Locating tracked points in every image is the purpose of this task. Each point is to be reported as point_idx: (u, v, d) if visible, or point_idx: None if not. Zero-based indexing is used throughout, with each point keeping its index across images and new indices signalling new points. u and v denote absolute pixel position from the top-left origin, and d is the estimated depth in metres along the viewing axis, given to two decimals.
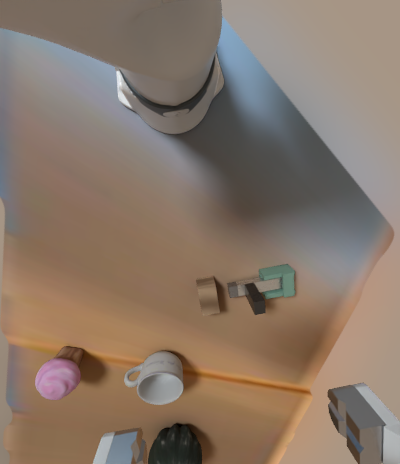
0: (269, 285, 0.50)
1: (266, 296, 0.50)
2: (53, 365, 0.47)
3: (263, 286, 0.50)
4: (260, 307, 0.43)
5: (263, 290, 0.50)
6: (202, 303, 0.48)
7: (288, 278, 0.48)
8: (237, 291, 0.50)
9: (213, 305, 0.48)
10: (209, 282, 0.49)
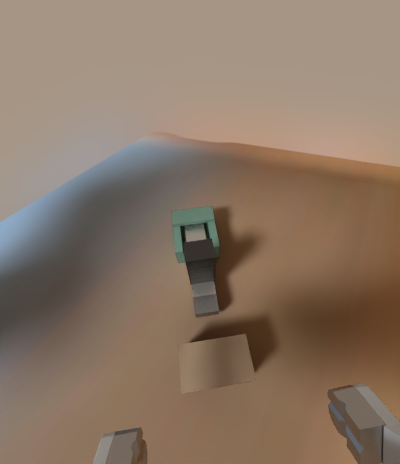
0: None
1: (214, 245, 0.29)
2: None
3: None
4: (198, 248, 0.22)
5: None
6: (220, 380, 0.20)
7: (180, 216, 0.31)
8: (205, 296, 0.26)
9: (226, 350, 0.21)
10: None
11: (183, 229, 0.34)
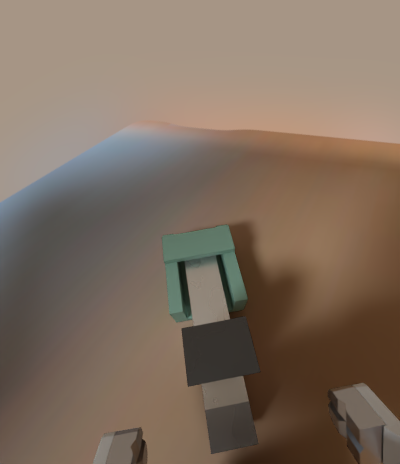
0: (206, 291, 0.18)
1: (238, 297, 0.16)
2: None
3: (209, 309, 0.17)
4: (217, 345, 0.09)
5: (223, 307, 0.17)
6: None
7: (177, 246, 0.19)
8: (228, 408, 0.14)
9: None
10: None
11: (183, 262, 0.21)
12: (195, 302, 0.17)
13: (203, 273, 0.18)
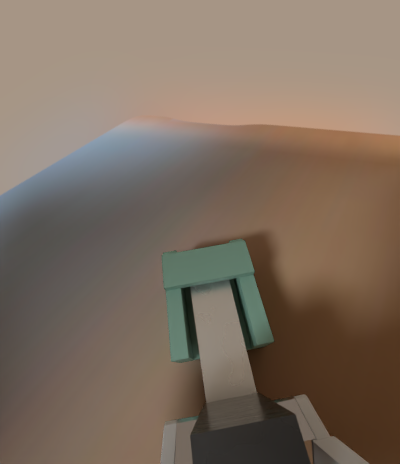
0: (219, 327, 0.14)
1: (261, 339, 0.13)
2: None
3: (223, 353, 0.13)
4: None
5: (241, 351, 0.13)
6: None
7: (181, 268, 0.15)
8: None
9: None
10: None
11: None
12: (204, 342, 0.13)
13: (214, 302, 0.15)
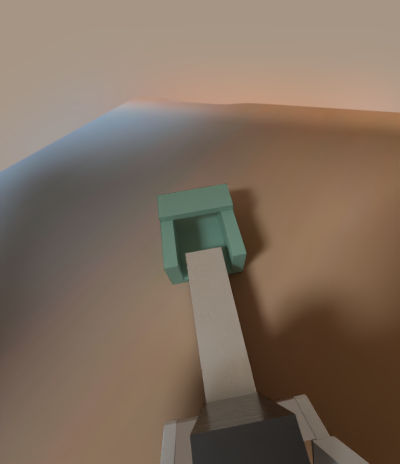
0: (218, 327, 0.14)
1: (236, 252, 0.16)
2: None
3: (223, 353, 0.13)
4: None
5: (241, 351, 0.13)
6: None
7: (173, 203, 0.18)
8: None
9: None
10: None
11: (180, 226, 0.21)
12: (204, 342, 0.13)
13: (214, 302, 0.15)
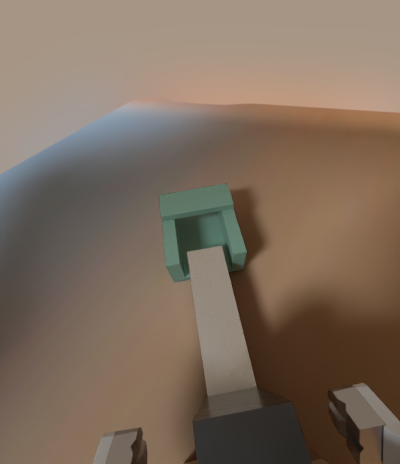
0: (219, 324, 0.14)
1: (237, 250, 0.16)
2: None
3: (224, 348, 0.13)
4: (250, 455, 0.06)
5: (241, 346, 0.13)
6: None
7: (174, 203, 0.18)
8: None
9: None
10: None
11: (181, 225, 0.21)
12: (205, 338, 0.14)
13: (215, 299, 0.15)
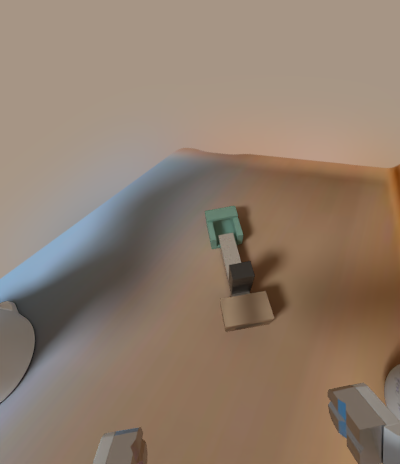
0: (232, 260, 0.38)
1: (239, 234, 0.40)
2: None
3: None
4: (241, 269, 0.30)
5: None
6: (250, 318, 0.31)
7: (212, 214, 0.42)
8: None
9: (253, 301, 0.32)
10: (221, 310, 0.34)
11: (213, 224, 0.45)
12: (227, 265, 0.37)
13: (230, 252, 0.39)
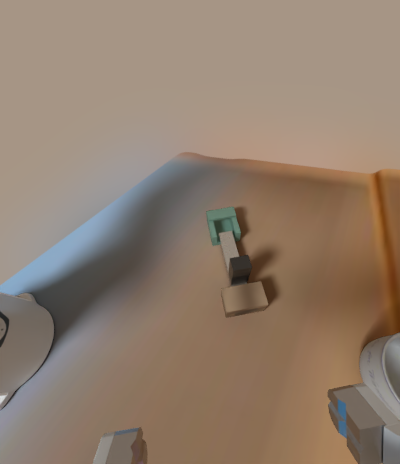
0: (231, 255, 0.43)
1: (237, 232, 0.45)
2: None
3: None
4: (240, 261, 0.34)
5: None
6: (247, 304, 0.36)
7: (213, 214, 0.47)
8: None
9: (250, 290, 0.37)
10: (222, 298, 0.39)
11: (213, 223, 0.50)
12: (227, 259, 0.42)
13: (230, 248, 0.43)
